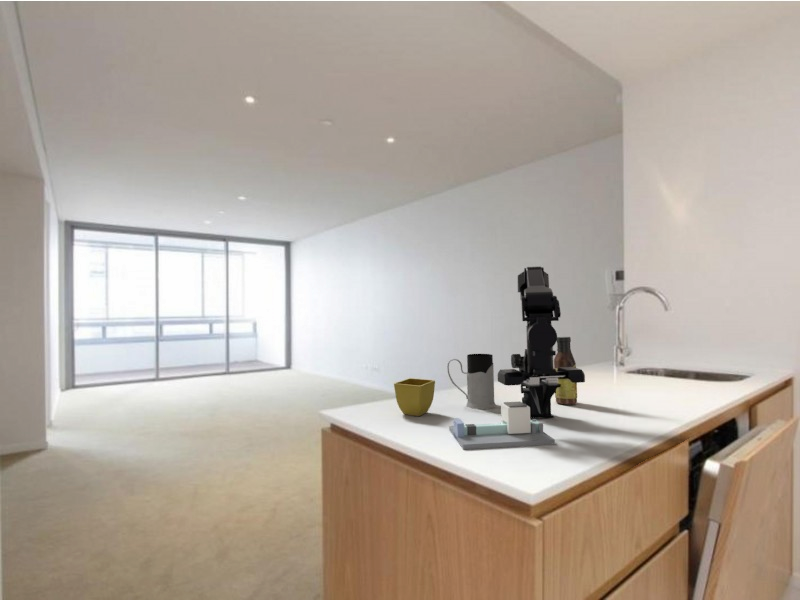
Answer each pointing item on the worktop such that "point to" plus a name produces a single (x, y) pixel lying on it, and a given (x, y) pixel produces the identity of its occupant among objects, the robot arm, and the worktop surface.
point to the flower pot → (414, 395)
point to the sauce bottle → (565, 359)
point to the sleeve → (516, 417)
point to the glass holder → (479, 381)
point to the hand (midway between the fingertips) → (541, 413)
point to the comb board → (497, 435)
